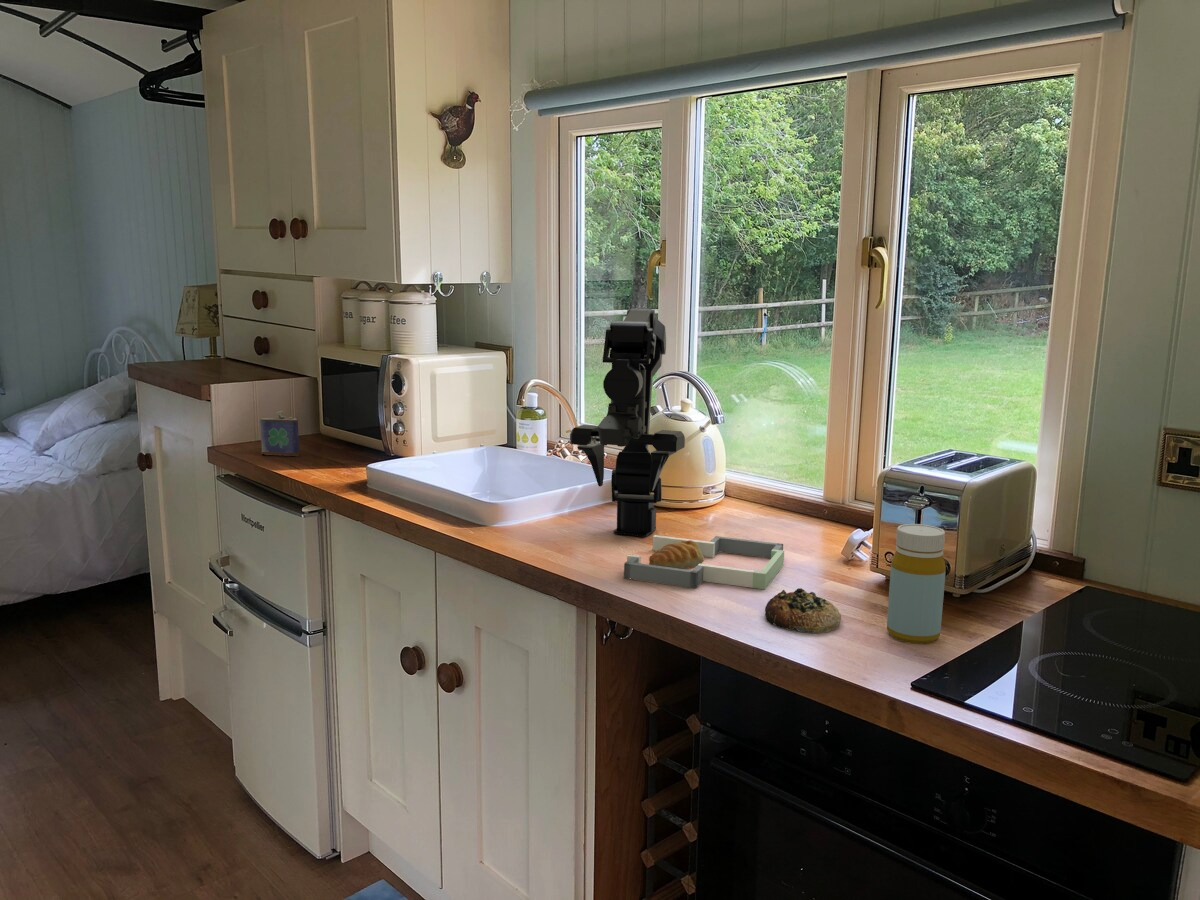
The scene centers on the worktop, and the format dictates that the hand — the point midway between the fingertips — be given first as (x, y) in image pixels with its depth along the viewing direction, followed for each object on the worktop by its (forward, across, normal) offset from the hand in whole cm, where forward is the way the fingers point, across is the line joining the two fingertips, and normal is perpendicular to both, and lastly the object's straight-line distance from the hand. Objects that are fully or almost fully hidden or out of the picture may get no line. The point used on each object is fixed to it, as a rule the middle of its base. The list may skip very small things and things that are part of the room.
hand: (625, 488), depth 168 cm
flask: (+10, -111, +51) cm, 122 cm away
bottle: (+13, +48, -19) cm, 54 cm away
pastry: (+13, +9, 0) cm, 16 cm away
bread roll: (+13, +34, -18) cm, 41 cm away
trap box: (+12, +14, 0) cm, 18 cm away
